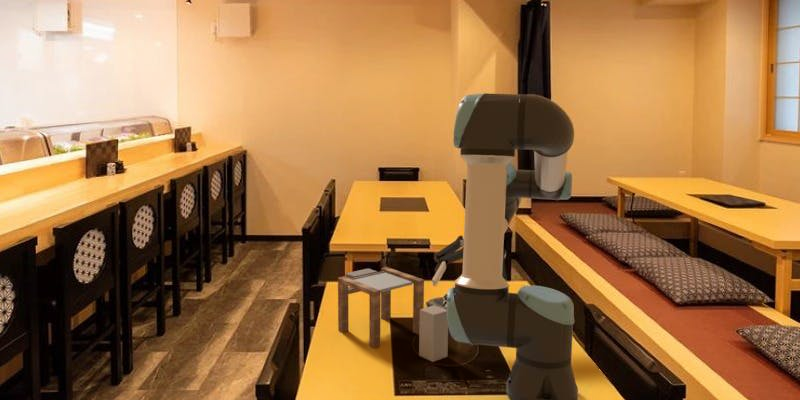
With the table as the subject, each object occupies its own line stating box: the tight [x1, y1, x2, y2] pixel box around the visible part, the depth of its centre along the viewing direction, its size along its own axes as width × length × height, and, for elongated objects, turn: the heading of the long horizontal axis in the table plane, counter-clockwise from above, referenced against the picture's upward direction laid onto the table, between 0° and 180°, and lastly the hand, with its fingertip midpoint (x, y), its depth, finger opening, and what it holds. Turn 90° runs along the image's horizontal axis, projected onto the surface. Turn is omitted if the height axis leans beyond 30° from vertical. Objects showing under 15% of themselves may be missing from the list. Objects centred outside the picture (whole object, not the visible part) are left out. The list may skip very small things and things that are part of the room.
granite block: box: [418, 305, 449, 363], centre depth 155 cm, size 5×5×12 cm
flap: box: [345, 268, 413, 294], centre depth 172 cm, size 17×12×2 cm
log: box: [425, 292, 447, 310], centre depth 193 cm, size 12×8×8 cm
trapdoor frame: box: [337, 266, 425, 349], centre depth 171 cm, size 16×17×15 cm
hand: (457, 291), depth 161 cm, fingers open, 13 cm apart
